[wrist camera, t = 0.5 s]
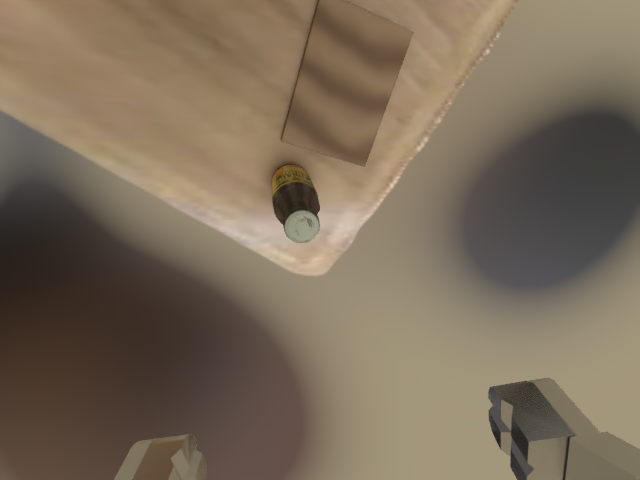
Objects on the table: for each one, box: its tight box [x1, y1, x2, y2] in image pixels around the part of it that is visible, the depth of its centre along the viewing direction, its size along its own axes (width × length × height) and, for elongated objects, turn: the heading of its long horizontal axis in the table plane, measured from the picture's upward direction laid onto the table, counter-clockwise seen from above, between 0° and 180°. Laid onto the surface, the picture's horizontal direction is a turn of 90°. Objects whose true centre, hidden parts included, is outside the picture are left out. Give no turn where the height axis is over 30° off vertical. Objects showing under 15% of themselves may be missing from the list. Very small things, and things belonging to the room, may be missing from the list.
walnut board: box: [281, 0, 413, 167], centre depth 50 cm, size 20×14×2 cm
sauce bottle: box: [272, 164, 320, 243], centre depth 46 cm, size 6×6×20 cm
